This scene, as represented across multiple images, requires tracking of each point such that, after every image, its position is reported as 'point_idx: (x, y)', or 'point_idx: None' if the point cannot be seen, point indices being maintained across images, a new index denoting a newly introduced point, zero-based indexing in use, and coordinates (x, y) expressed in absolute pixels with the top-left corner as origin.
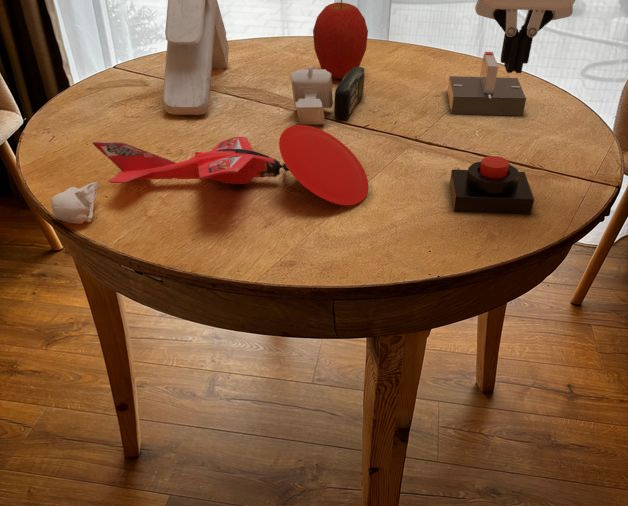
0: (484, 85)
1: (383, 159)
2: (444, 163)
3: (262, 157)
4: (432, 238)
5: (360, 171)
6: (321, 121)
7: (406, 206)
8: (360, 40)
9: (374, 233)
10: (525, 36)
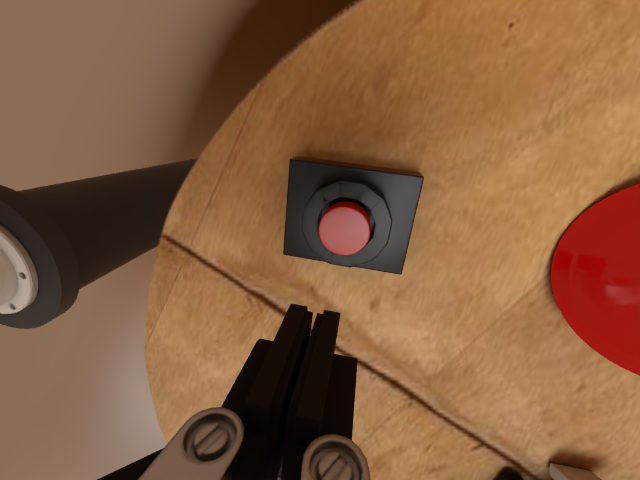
0: None
1: (484, 350)
2: (388, 325)
3: None
4: (488, 77)
5: (568, 291)
6: (558, 468)
7: (498, 195)
8: None
9: (598, 98)
10: (252, 425)
